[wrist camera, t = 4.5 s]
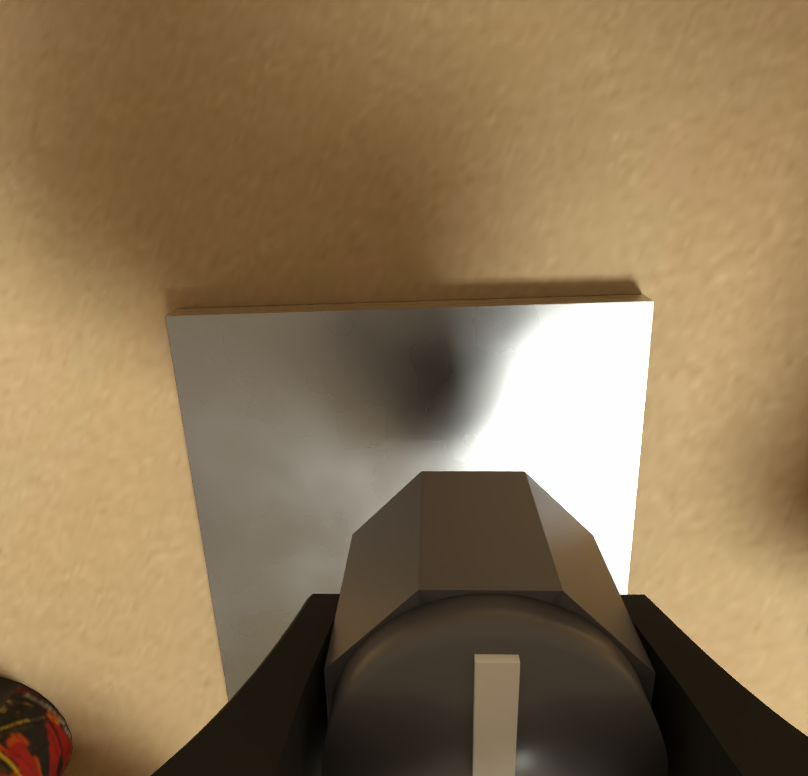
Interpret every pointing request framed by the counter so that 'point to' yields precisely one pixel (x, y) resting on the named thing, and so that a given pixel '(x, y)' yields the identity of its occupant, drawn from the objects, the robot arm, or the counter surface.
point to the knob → (484, 642)
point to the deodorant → (31, 733)
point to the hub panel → (393, 430)
